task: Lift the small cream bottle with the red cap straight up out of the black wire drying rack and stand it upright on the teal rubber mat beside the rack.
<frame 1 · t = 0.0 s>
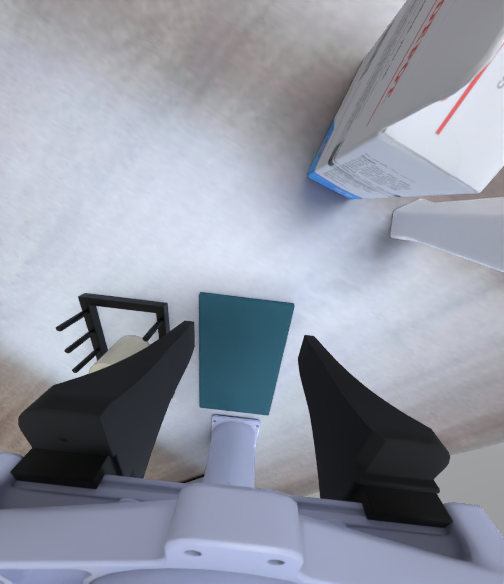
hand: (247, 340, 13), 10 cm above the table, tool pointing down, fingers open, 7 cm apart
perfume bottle: (407, 222, 19), on the table
cream bottle: (135, 349, 27), resting in drying rack
ink box: (356, 136, 16), on the table
drying rack: (135, 349, 27), on the table
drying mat: (239, 361, 27), on the table
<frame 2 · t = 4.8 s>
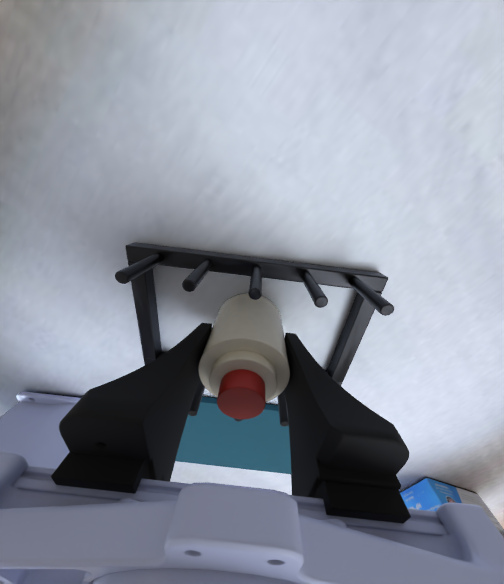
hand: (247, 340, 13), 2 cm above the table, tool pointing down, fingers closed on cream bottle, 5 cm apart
cream bottle: (249, 321, 15), resting in drying rack, touching gripper
ink box: (436, 491, 24), on the table
drying rack: (249, 321, 15), on the table
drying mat: (235, 434, 21), on the table
when the fingers open (3 cm above the table, at t = 9.6 s): cream bottle stays where it is, resting on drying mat.
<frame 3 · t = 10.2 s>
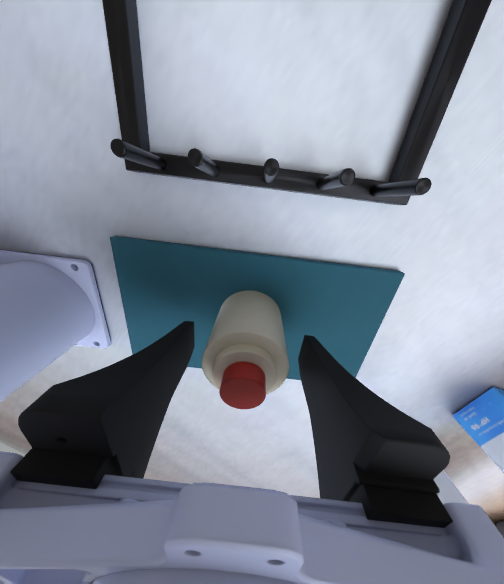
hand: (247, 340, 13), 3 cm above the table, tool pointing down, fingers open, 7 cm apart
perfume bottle: (408, 444, 22), on the table
cream bottle: (249, 318, 15), point 1 cm above the table, touching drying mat
ink box: (499, 412, 19), on the table
drying rack: (281, 76, 10), on the table
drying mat: (249, 319, 16), on the table
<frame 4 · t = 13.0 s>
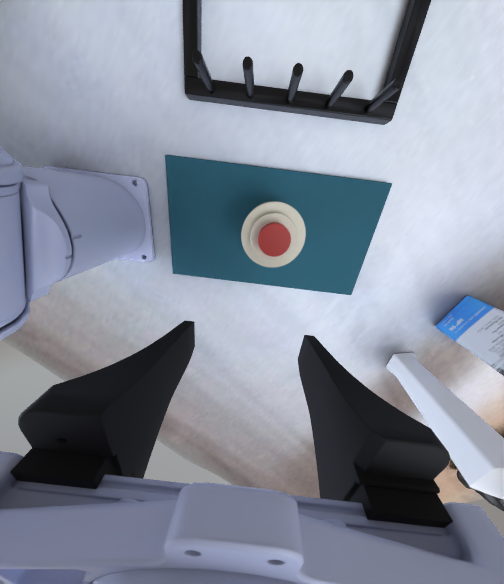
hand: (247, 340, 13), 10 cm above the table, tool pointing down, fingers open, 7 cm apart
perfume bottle: (399, 360, 26), on the table
cream bottle: (270, 228, 19), point 1 cm above the table, touching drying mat
game controller: (497, 447, 33), on the table
ink box: (474, 323, 23), on the table
drying rack: (300, 20, 14), on the table
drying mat: (269, 232, 20), on the table
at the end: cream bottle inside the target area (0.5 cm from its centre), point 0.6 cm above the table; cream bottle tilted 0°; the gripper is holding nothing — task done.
